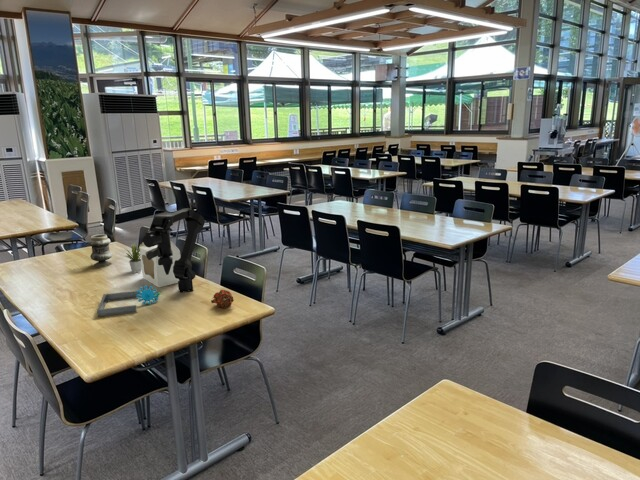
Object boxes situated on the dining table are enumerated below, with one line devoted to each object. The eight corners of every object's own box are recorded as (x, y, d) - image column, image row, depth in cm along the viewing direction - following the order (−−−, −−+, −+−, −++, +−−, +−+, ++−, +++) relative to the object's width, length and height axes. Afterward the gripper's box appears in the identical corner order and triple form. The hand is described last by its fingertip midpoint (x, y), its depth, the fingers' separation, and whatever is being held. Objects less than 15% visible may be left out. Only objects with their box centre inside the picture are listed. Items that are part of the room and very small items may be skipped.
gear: (138, 304, 210) (135, 285, 214) (135, 310, 214) (132, 291, 218) (163, 302, 216) (159, 283, 220) (160, 308, 220) (156, 290, 224)
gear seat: (139, 296, 225) (138, 290, 224) (136, 312, 205) (135, 305, 204) (104, 300, 220) (103, 294, 220) (97, 317, 201) (96, 310, 200)
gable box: (142, 277, 254) (136, 227, 247) (165, 272, 262) (161, 224, 255) (158, 287, 237) (153, 234, 231) (183, 281, 245) (178, 230, 239)
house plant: (157, 269, 268) (154, 242, 264) (136, 276, 257) (133, 247, 253) (141, 266, 276) (138, 239, 272) (120, 272, 264) (117, 244, 260)
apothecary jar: (107, 267, 274) (104, 237, 270) (87, 267, 275) (83, 238, 270) (116, 261, 286) (113, 233, 282) (97, 261, 286) (93, 233, 282)
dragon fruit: (230, 314, 205) (215, 311, 214) (241, 298, 209) (226, 296, 218) (218, 302, 201) (204, 299, 209) (230, 286, 205) (215, 284, 213)
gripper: (146, 239, 221) (150, 270, 225) (144, 248, 204) (148, 282, 207) (171, 237, 224) (174, 268, 228) (171, 246, 207) (174, 279, 210)
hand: (167, 274), depth 218 cm, fingers closed
